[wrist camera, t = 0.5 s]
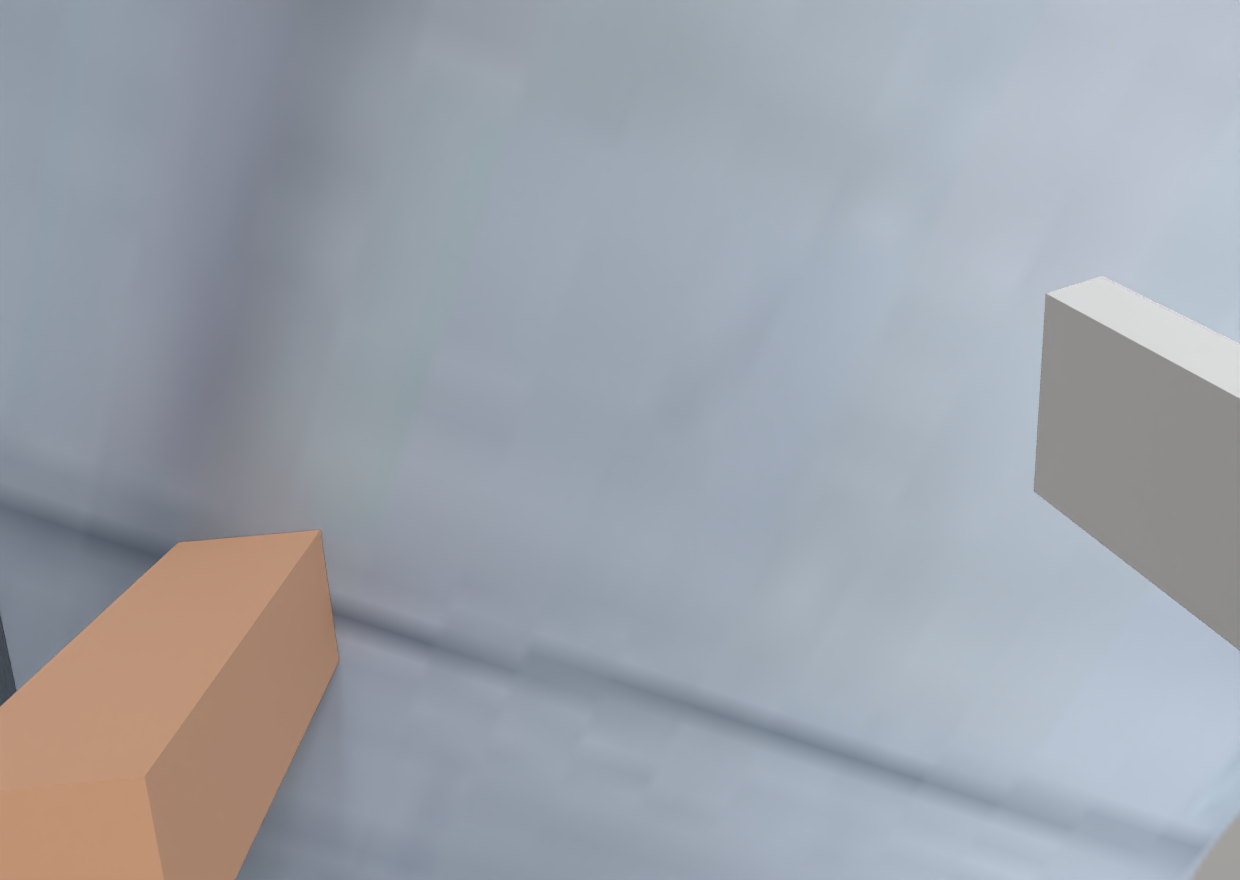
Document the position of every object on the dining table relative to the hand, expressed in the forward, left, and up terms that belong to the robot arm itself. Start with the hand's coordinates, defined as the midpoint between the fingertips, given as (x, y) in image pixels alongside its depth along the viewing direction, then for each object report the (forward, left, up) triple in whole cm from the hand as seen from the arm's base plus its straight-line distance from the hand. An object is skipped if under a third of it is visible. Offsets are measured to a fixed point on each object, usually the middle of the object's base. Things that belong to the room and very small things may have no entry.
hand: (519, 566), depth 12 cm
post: (+9, -10, -25) cm, 28 cm away
